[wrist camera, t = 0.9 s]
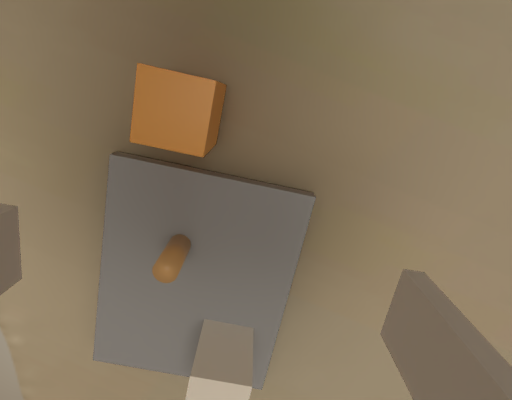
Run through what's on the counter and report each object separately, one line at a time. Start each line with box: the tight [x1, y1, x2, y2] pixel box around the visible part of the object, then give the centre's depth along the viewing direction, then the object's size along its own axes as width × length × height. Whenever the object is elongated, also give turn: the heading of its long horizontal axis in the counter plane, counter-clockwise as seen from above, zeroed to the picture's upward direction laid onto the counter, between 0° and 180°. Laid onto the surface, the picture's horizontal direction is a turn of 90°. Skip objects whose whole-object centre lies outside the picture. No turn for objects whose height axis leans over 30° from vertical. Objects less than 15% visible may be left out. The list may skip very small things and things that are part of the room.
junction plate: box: [93, 151, 316, 400], centre depth 29 cm, size 22×18×8 cm
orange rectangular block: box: [130, 63, 227, 157], centre depth 25 cm, size 5×5×7 cm
